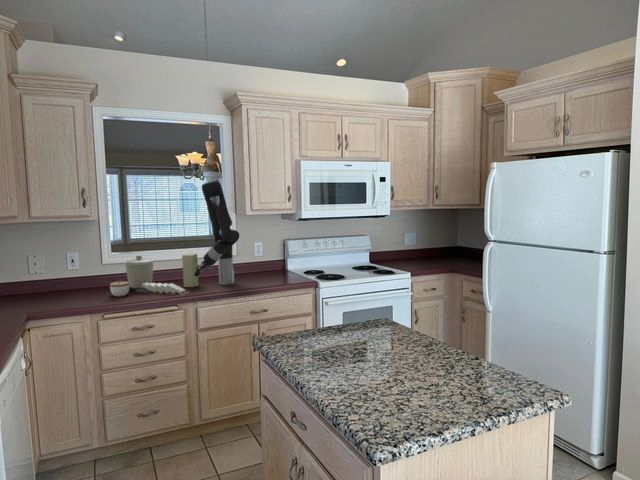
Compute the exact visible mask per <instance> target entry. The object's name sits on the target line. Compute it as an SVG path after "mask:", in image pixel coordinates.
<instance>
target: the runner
mask: <svg viewBox="0 0 640 480" xmlns="http://www.w3.org/2000/svg"><path fill="white" fill-rule="evenodd" d="M189 293H190V291H186V290H185V292H184V293H182V294H179V293H175V294H173V293H166V292H163V293H160V292H156V293H154V292H150V293H147V294H151V295H171V296H172V295H174V296H184V295H187V294H189Z"/></svg>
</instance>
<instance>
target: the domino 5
mask: <svg viewBox="0 0 640 480" xmlns="http://www.w3.org/2000/svg"><path fill="white" fill-rule="evenodd" d="M168 284H169V283H167V282H165V283H161V286H160V287H161V288H163V289H165V290H167V291H169V292H171V293H173V294H175V293H177V292H175V291H173V290H171V289H169V288H167V287H166V286H167V285H168Z"/></svg>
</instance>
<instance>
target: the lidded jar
mask: <svg viewBox="0 0 640 480" xmlns="http://www.w3.org/2000/svg"><path fill="white" fill-rule="evenodd" d="M109 289H110V292H111V294H112V295H113V296H115V297H123V296H127V294H129V291H130V286H129V282H128V280H127V281H121V280H120V279H119V280H118V281H115V282H111V283H110V284H109Z"/></svg>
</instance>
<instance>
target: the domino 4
mask: <svg viewBox="0 0 640 480" xmlns="http://www.w3.org/2000/svg"><path fill="white" fill-rule="evenodd" d="M161 284H162V282H158V283H156V284H155V285H154V287H155V288H157V289H160V290H162V291H164V292H166V293H171V292H169V291H167V290H165V289H163V288H161V287H160V286H161Z"/></svg>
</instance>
